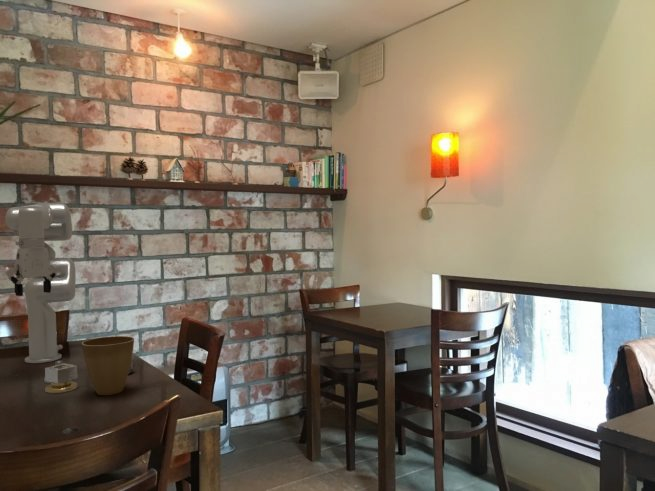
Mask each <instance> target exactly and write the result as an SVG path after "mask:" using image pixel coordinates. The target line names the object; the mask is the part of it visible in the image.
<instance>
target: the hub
mask: <svg viewBox="0 0 655 491" xmlns="http://www.w3.org/2000/svg"><path fill="white" fill-rule="evenodd" d="M77 388H78V383H77V382H75V381H72V380H69V381H65V382H61V383H54V382H51V383H50V384H48V385H46V386H45V388H44V392H45V393H47V394H62V393H66V392H67V393H69V392H72V391H74V390H76V389H77Z"/></svg>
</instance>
